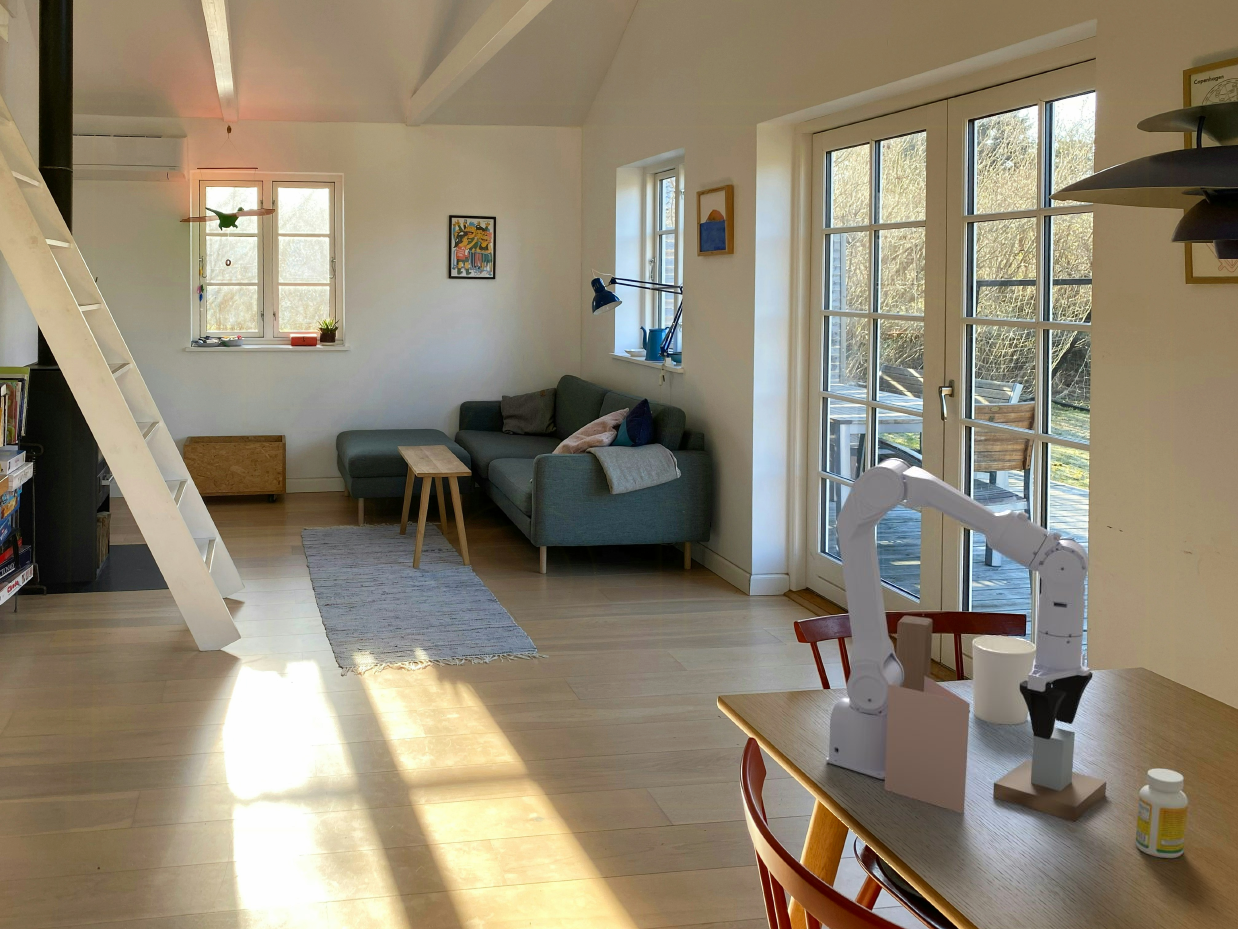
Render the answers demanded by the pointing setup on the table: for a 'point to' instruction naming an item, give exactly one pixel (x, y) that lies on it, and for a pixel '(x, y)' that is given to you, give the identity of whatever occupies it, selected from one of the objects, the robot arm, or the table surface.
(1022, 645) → the candle holder
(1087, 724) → the table surface
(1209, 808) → the table surface
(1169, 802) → the supplement bottle
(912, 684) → the wooden block
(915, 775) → the greeting card
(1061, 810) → the walnut base
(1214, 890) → the table surface
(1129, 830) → the table surface
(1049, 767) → the slate block
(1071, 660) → the robot arm
